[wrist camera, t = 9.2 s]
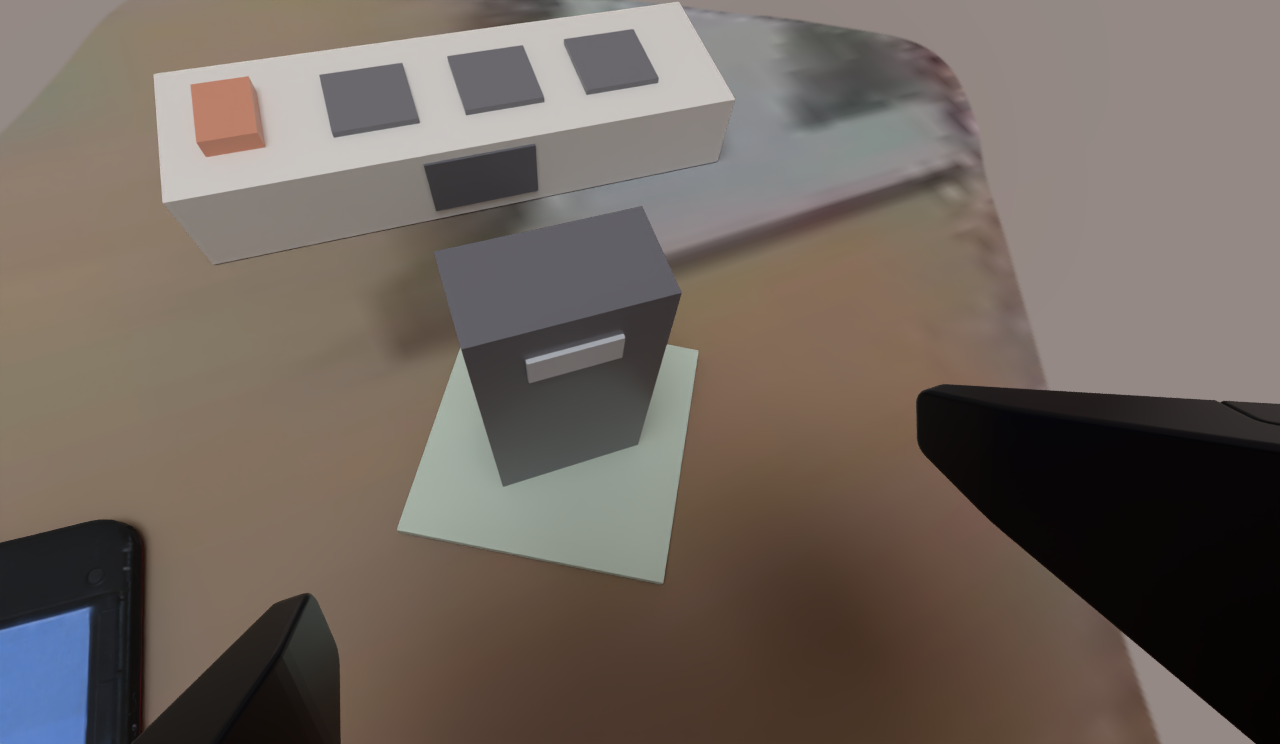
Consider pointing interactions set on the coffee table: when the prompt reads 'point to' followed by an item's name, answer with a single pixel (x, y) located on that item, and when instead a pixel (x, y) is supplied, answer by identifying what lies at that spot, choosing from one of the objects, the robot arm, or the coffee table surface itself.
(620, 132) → the power strip
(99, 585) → the handheld game console
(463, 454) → the felt coaster
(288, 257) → the coffee table surface
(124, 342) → the coffee table surface
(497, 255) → the brick
